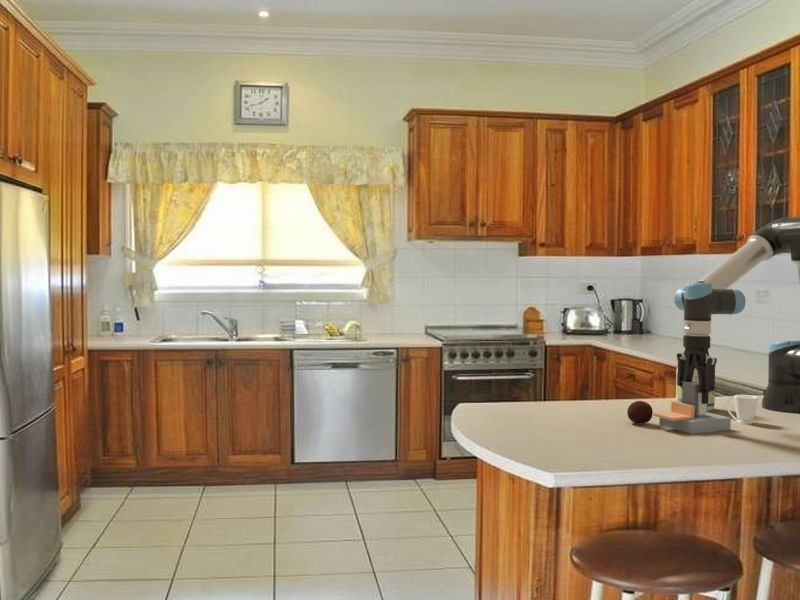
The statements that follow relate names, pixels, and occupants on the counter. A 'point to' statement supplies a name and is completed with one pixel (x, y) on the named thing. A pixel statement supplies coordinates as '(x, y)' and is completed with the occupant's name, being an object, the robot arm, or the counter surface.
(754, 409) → the cup
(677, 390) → the supplement tub
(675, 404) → the orange l-shaped bracket
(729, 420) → the socket block
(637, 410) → the dark brown ball
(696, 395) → the plug
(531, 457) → the counter surface
